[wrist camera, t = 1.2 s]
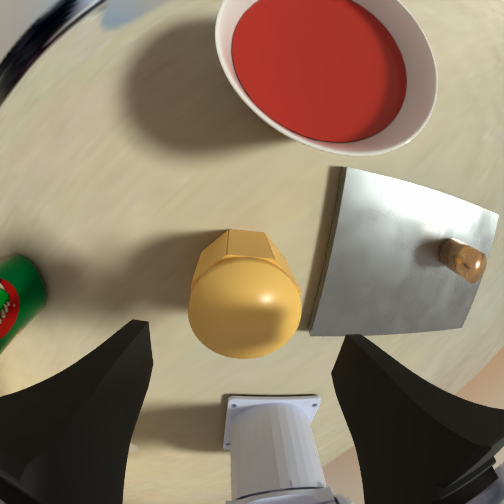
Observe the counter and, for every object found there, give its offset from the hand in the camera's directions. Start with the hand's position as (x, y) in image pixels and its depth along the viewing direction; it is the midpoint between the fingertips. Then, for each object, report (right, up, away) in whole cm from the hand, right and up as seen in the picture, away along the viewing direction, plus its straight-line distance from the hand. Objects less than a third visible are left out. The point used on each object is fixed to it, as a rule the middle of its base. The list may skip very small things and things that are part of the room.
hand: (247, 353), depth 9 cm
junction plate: (+13, +3, +8) cm, 15 cm away
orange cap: (0, +2, +7) cm, 8 cm away
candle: (+3, +13, +4) cm, 14 cm away
